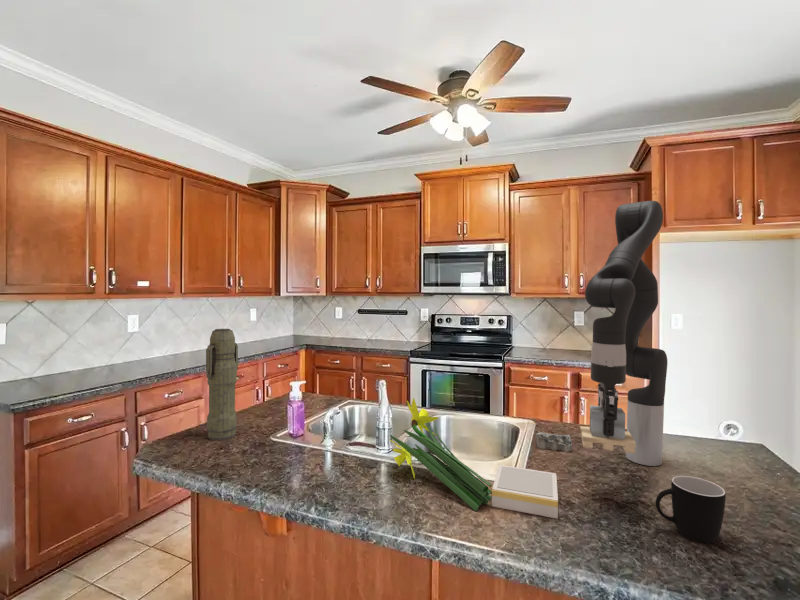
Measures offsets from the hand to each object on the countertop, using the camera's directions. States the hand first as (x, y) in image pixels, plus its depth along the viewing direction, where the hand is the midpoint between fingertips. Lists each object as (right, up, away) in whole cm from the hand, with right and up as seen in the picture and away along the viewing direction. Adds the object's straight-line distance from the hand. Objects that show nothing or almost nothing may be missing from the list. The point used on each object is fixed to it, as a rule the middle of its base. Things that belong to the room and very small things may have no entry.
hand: (606, 431), depth 99 cm
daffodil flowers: (-39, -15, +6) cm, 43 cm away
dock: (-20, -15, -1) cm, 25 cm away
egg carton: (-1, -15, +32) cm, 35 cm away
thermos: (-109, -13, +36) cm, 115 cm away
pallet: (0, -3, 0) cm, 3 cm away
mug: (+9, -17, -15) cm, 24 cm away
